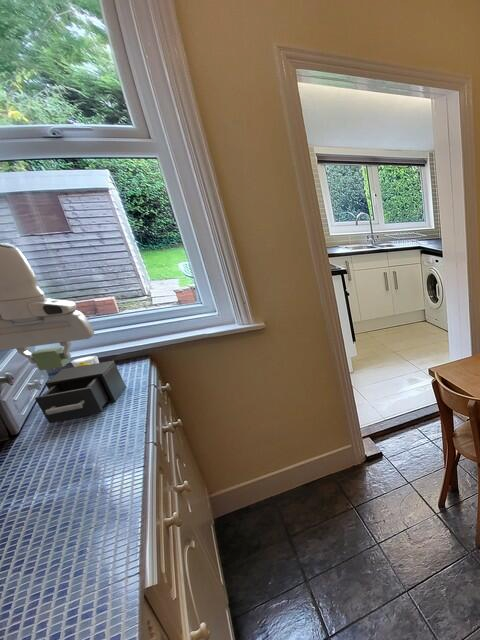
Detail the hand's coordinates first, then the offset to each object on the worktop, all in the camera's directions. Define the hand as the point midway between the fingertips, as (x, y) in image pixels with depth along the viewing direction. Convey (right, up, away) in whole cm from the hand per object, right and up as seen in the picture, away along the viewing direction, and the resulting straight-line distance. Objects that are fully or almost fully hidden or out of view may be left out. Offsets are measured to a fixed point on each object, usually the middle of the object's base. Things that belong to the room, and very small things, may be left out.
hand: (52, 360), depth 108 cm
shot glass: (-31, -4, +41) cm, 51 cm away
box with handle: (-11, -11, +22) cm, 27 cm away
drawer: (-5, -14, +12) cm, 19 cm away
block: (0, -1, +1) cm, 2 cm away
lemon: (-25, -6, +34) cm, 43 cm away
